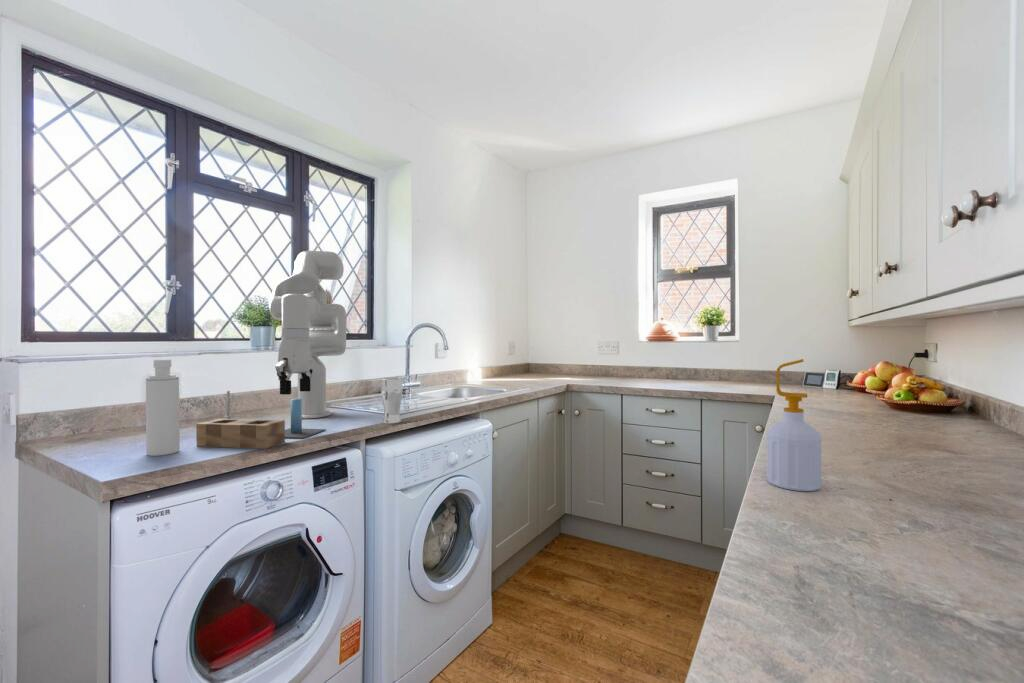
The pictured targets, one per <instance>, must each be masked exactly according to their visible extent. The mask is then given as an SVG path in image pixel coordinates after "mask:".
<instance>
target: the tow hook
mask: <svg viewBox="0 0 1024 683" xmlns="http://www.w3.org/2000/svg"><path fill="white" fill-rule="evenodd" d="M230 392H231V391H230V390H227V391H226V397H225V413H224V414H225V416H224V419H231V397H230V396H231V393H230Z"/></svg>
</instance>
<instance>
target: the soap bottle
mask: <svg viewBox="0 0 1024 683" xmlns="http://www.w3.org/2000/svg"><path fill="white" fill-rule="evenodd" d="M803 362H804V359H803V358H802V359H798V360H793V361H790V362H789V361H788V362H784V363H782V364H780V365H779V366H778V367H777V369H776V394H777V395H779V396H780V397H784V398H785V401H787V402H788V407H783V418H782V419H781V420H780V421H779V422H776V423H774V424H773V425H771V426H770V427H768V429H767V431H766V480H767V482H768V483H769V484H770V485H773V486H774V487H778V488H780V489H784V490H790V491H796V492H814V491H819V490H820V488H821V487H822V436H821V433H820V432H819V431H818V430H817V429H816V428H814V427H813V426H812V425H810V424H808V423H807V422H806V421H805V419H804V408H800V406H799V405H800V404H799V402H802V401H803V398H804V399H806V398H808V394H807V393H803V392H802V393H801V392H784V391H782V390H781V388H780V371H781V369H783V368H785V367H788V366H792V365H795V364H801V363H803Z"/></svg>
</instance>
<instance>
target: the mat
mask: <svg viewBox="0 0 1024 683" xmlns="http://www.w3.org/2000/svg"><path fill="white" fill-rule="evenodd" d="M325 431H327V430H326V428H302V433H297V434H292V433H291V427H290V428H285V439H293V440H294V439H298V440H304V439H307V438H309V437H312V436H315V435H317V434H321V433H323V432H325Z"/></svg>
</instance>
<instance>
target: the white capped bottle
mask: <svg viewBox="0 0 1024 683" xmlns="http://www.w3.org/2000/svg"><path fill="white" fill-rule="evenodd" d="M171 367H172V359H171V358H170V359H169V358H167V359H165V358H164V359H162V358H161V359H153V368H154V374H153V375H152V374H151V375H148V378H145V435H146V436H145V452H146V456H150V457H153V456H154V457H156V456H159V457H160V456H165V455H166V456H167V455H172V454H175V453H178V452H179V451H180V444H181V443H180V438H181V437H180V377H179V376H178V377H177V375H176V374H171Z"/></svg>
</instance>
